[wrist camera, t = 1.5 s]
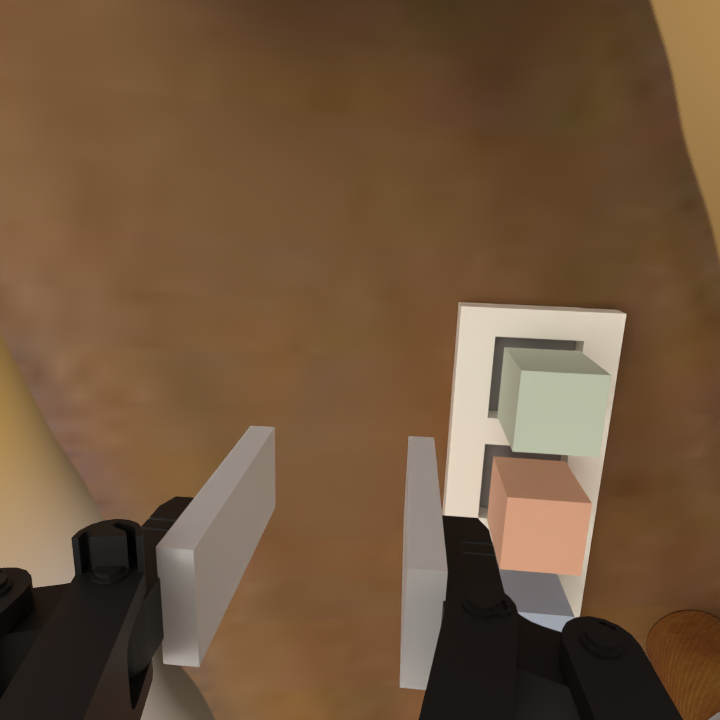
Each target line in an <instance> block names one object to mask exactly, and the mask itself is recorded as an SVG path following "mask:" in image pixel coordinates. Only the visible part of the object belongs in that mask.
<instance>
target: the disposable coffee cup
mask: <svg viewBox="0 0 720 720" xmlns="http://www.w3.org/2000/svg"><path fill="white" fill-rule="evenodd" d="M647 650H648V654H649V657H650V659H651V662H652V664H653V667H654V670H655V672H656V673H657V675H658V677H659V679H660V680H661V682H662V684H663V685H664V687H665V689H666V691H667V692H668V694H669V696H670V698H671V699H672V701H673V703H674V704H675V706H676V708H677V710H678V711H679V713H680V715H681V717H682V718H683V720H720V621H719V620H718V619H716V618H715V617H713V616H712V615H709V614H707V613H704V612H700V611H688V610H686V611H680V612H676V613H672V614H670V615H668V616H666V617H664V618H663V619H661V620H660V621H658V622H657V624H656V625H655V626H654V627H653V628H652V630H651V631H650V633H649V636H648V639H647Z"/></svg>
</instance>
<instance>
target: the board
mask: <svg viewBox="0 0 720 720" xmlns="http://www.w3.org/2000/svg"><path fill="white" fill-rule="evenodd" d="M625 320H626V313H623V312H621V311H619V310H617V309H600V308H578V307H556V306H534V305H512V304H490V303H468V302H459V305H458V318H457V331H456V344H455V357H454V369H453V382H452V395H451V408H450V421H449V434H448V446H447V459H446V472H445V485H444V498H443V511H442V515H446V516H459V517H472V518H478V519H479V520H480V521H481V522H482V523H483V524H484V525H485V526H486V527H487V528H488V529H489V525H488V521H487V514H488V504H489V494H490V484H491V474H492V464H493V456H494V457H509V458H524V459H539V460H554V461H565V462H566V463H567V465H568V466H569V468H570V470H571V471H572V473H573V474H574V476H575V477H576V479H577V481H578V482H579V484H580V485H581V487H582V488H583V490H584V492H585V493H586V495H587V496H588V498H589V499H590V501H591V503H592V507H591V514H590V520H589V527H588V533H587V540H586V546H585V553H584V560H583V566H582V573H581V576H577V575H565V574H557V575H558V577H559V580H560V582H561V585H562V587H563V590H564V592H565V594H566V597H567V599H568V602H569V604H570V606H571V609H572V611H573V614H574V616H575V617H580V611H581V605H582V598H583V592H584V585H585V579H586V572H587V566H588V559H589V553H590V547H591V540H592V534H593V527H594V521H595V514H596V508H597V501H598V495H599V488H600V482H601V475H602V469H603V463H604V456H605V450H606V443H607V437H608V430H609V424H610V417H611V411H612V404H613V398H614V392H615V385H616V379H617V372H618V366H619V359H620V353H621V346H622V340H623V333H624V327H625ZM504 347H511V348H530V349H550V350H569V351H581V352H582V353H583V354H585V355H586V356H587V357H588V358H590V359H591V360H592V361H594V362H595V363H596V364H597V365H599V366H600V367H601V368H603V369H604V370H605V371H607V372H608V373H609V374H610V375H612V376H611V382H610V389H609V395H608V402H607V409H606V415H605V422H604V428H603V435H602V441H601V448H600V455H599V457H588V456H573V455H558V454H543V453H527V452H512V449H511V447H510V445H509V442H508V440H507V438H506V436H505V433H504V431H503V429H502V426H501V424H500V422H499V420H498V417H497V415H498V405H499V395H500V385H501V375H502V365H503V355H504ZM489 532H490V529H489ZM490 536H491V533H490ZM491 540H492V537H491ZM492 545H493V541H492ZM493 548H494V545H493ZM494 552H495V549H494ZM495 556H496V553H495Z"/></svg>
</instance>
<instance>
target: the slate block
mask: <svg viewBox="0 0 720 720" xmlns="http://www.w3.org/2000/svg"><path fill="white" fill-rule="evenodd" d="M496 560H497V557H496ZM497 564H498V561H497ZM498 568H499V565H498ZM499 572H500V576H501V580H502V584H503V588H504V592H505V594H507V595H508V596H509V597H510V598H511V599H512V600H513V602H514V603H515V604H516V607H517V611H518V613H519V614H520V615H521V616H523V617H524V618H526V619H528V620H530V621H531V622H534V623H536V624H539V625H541V626H544V627H547V628H550V629H553V630H556V631H560V632H562V629H563V627H564V625H565V623H566V622H567V621H569V620H571V619H573V618H575V616H574V614H573V611H572V609H571V606H570V604H569V602H568V599H567V597H566V594H565V592H564V590H563V587H562V585H561V582H560V580H559V577H558V575H557V574H553V573H541V572H528V571H516V570H504V569H499Z"/></svg>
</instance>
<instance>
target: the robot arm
mask: <svg viewBox="0 0 720 720" xmlns="http://www.w3.org/2000/svg"><path fill="white" fill-rule="evenodd" d="M274 508H275V427H263V426H250V427H249V429H248V430H247V431H246V432H245V434H244V435H243V436H242V437H241V439H240V440H239V441H238V443H237V444H236V445H235V446H234V448H233V449H232V450H231V452H230V453H229V454H228V455H227V457H226V458H225V459H224V460H223V462H222V463H221V464H220V466H219V467H218V468H217V469H216V471H215V472H214V473H213V475H212V476H211V477H210V478H209V480H208V481H207V482H206V484H205V485H204V486H203V487H202V489H201V490H200V491H199V492H198V494H197V495H196V496H195V498H190V497H177V496H176V497H174V498H173V499H171V500H169V501H167V502H166V503H164V504H162V505H160V506H159V507H158V508H157V510H156V511H155V512H154V513H153V514H152V515H151V516H150V519H148V520H147V521H146V522H145V523H144V524H143V525H142V527H141V526H140V525H139V524H138V523H136V522H133V521H131V520H123V519H114V520H106V521H101V522H98V523H95V524H91V525H89V526H87V527H85V528H84V529H81V530H80V531H78V532H77V533H76V534H75V535H74V536H73V537H72V547H73V557H74V565H75V577H74V578H73V580H72V581H71V583H67V584H61V585H54V586H45V587H37V588H33V586H32V578H31V575H30V574H29V573H28V572H27V571H26V570H23V569H20V568H0V720H140V719H141V716H142V712H143V709H144V706H145V702H146V699H147V696H148V692H149V689H150V686H151V682H152V676H153V668H152V667H153V666H152V657H153V655H154V654H155V652H156V650H157V649H158V647H159V645H160V644H161V642H162V648H163V662H164V663H165V664H174V665H183V666H193V667H199V666H200V664H201V662H202V660H203V658H204V656H205V654H206V652H207V650H208V647H209V645H210V643H211V641H212V639H213V637H214V635H215V633H216V631H217V629H218V626H219V624H220V622H221V620H222V618H223V616H224V614H225V612H226V610H227V607H228V605H229V603H230V601H231V599H232V597H233V595H234V593H235V591H236V589H237V586H238V584H239V582H240V580H241V578H242V576H243V574H244V572H245V570H246V567H247V565H248V563H249V561H250V559H251V557H252V555H253V553H254V551H255V548H256V546H257V544H258V542H259V540H260V538H261V536H262V534H263V532H264V530H265V527H266V525H267V523H268V521H269V519H270V517H271V515H272V513H273V511H274ZM400 687H401V688H411V689H420V690H426V692H425V696H424V700H423V704H422V709H421V713H420V717H419V720H683V718H682V717H681V715H680V713H679V711H678V710H677V708H676V706H675V704H674V703H673V701H672V699H671V698H670V696H669V694H668V692H667V691H666V689H665V687H664V685H663V684H662V682H661V680H660V679H659V677H658V675H657V673H656V672H655V670H654V668H653V666H652V665H651V663H650V661H649V660H648V658H647V656H646V654H645V653H644V651H643V649H642V647H641V646H640V644H639V643H638V642H637V641H636V640H635V638H634V637H633V636H632V635H631V634H630V633H628V632H627V631H626V630H624V629H623V628H621V627H620V626H618V625H616V624H614V623H611V622H609V621H607V620H604V619H600V618H595V617H590V616H586V617H575V618H573V619H571V620H569V621H567V622H566V623H565V625H564V627H563V629H562V632H560V631H556V630H553V629H550V628H547V627H544V626H541V625H539V624H536V623H534V622H531V621H530V620H528V619H526V618H524V617H523V616H521V615H520V614H519V613H518V611H517V607H516V604H515V603H514V602H513V600H512V599H511V598H510V597H509V596H508V595H507V594H505V592H504V588H503V584H502V580H501V576H500V572H499V568H498V564H497V560H496V556H495V552H494V548H493V545H492V540H491V536H490V532H489V529H488V528H487V527H486V526H485V525H484V524H483V523H482V522H481V521H480V520H479V519H478V518H472V517H459V516H446V515H442V511H441V501H440V491H439V482H438V472H437V462H436V453H435V443H434V438H432V437H417V436H409V440H408V457H407V474H406V491H405V508H404V536H403V577H402V617H401V657H400Z"/></svg>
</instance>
